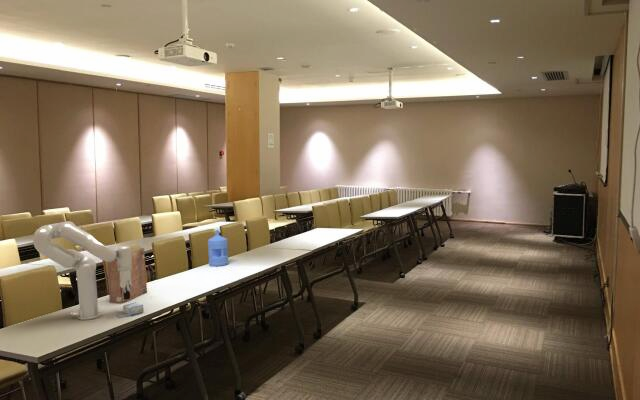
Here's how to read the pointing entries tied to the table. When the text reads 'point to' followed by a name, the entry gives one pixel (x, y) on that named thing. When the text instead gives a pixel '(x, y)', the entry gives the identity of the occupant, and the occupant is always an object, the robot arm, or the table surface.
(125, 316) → the slate mat
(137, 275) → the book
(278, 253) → the table surface
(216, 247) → the water jug
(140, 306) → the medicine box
